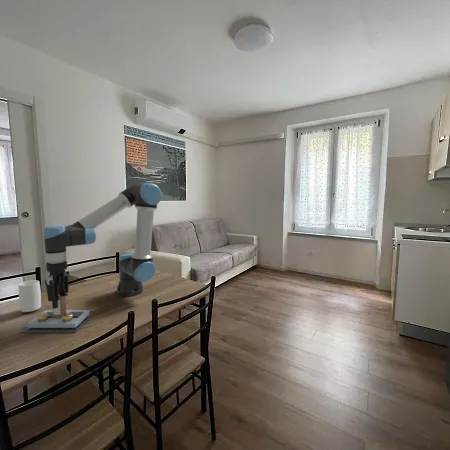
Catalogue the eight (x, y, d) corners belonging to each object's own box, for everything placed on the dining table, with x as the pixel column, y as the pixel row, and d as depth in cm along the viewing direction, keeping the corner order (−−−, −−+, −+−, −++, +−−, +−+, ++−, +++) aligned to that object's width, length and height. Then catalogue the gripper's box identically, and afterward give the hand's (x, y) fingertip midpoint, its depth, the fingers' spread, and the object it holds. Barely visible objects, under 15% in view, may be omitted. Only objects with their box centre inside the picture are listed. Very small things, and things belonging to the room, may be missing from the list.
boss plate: (91, 316, 117) (91, 305, 116) (75, 332, 103) (74, 320, 102) (44, 316, 116) (43, 305, 115) (20, 332, 102) (19, 320, 101)
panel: (75, 327, 105) (74, 303, 103) (27, 327, 104) (25, 303, 102) (89, 314, 116) (88, 292, 115) (46, 314, 116) (44, 291, 114)
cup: (24, 316, 115) (21, 287, 114) (17, 311, 120) (14, 283, 118) (45, 309, 122) (43, 282, 121) (37, 305, 127) (35, 278, 125)
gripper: (59, 256, 115) (62, 304, 117) (34, 266, 99) (38, 321, 101) (75, 256, 115) (78, 304, 118) (53, 266, 99) (57, 321, 102)
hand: (59, 312), depth 110 cm, fingers closed on panel, 3 cm apart
